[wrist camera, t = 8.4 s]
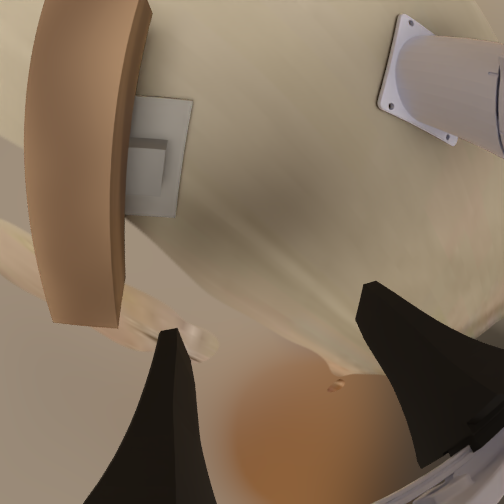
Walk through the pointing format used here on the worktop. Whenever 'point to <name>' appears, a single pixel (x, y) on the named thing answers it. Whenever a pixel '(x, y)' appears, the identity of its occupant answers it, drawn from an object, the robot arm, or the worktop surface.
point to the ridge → (156, 155)
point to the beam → (82, 151)
